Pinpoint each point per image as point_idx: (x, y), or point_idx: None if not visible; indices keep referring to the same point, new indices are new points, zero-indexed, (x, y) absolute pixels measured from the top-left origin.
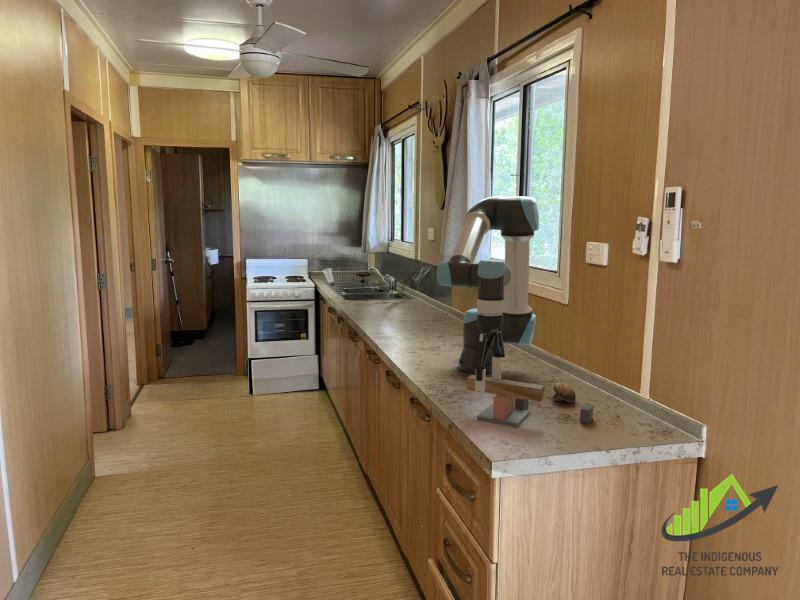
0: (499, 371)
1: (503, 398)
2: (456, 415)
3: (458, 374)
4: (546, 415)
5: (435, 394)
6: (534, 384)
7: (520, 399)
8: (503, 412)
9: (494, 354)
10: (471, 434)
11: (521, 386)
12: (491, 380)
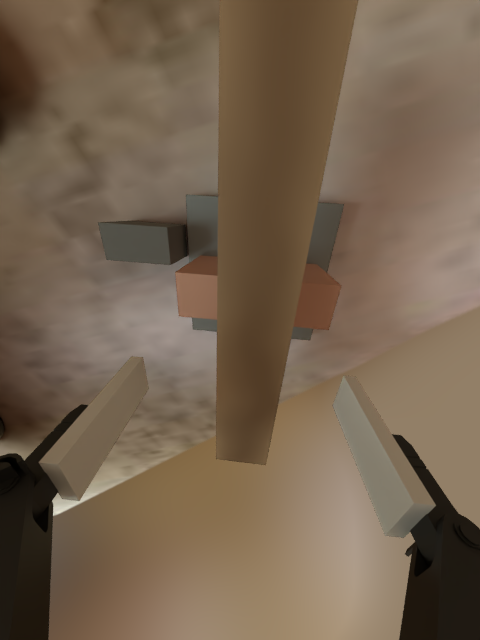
0: (122, 388)
1: (329, 289)
2: (294, 380)
3: (31, 431)
4: (167, 122)
5: (181, 439)
6: (229, 90)
7: (169, 241)
8: (321, 270)
9: (49, 520)
10: (430, 320)
11: (317, 201)
12: (263, 389)
